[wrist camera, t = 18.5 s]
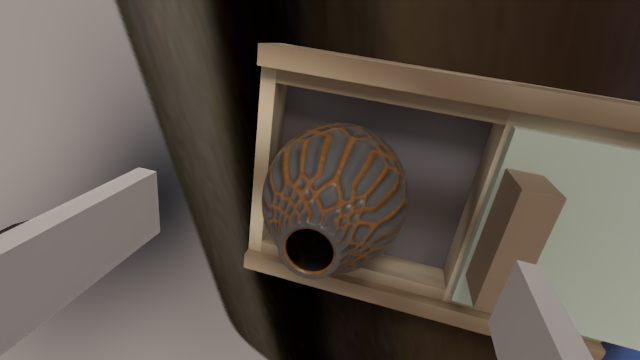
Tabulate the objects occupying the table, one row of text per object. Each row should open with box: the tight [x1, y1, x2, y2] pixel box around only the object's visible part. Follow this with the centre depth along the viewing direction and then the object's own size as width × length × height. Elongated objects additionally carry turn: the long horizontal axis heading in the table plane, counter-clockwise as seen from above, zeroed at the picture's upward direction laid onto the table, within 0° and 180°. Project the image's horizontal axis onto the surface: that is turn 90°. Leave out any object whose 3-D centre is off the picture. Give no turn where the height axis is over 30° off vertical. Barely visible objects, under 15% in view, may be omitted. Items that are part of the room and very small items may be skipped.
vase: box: [262, 122, 408, 279], centre depth 16 cm, size 7×7×9 cm
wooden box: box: [244, 43, 640, 360], centre depth 19 cm, size 13×20×3 cm, turn 81°
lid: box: [450, 126, 640, 351], centre depth 15 cm, size 10×11×3 cm
